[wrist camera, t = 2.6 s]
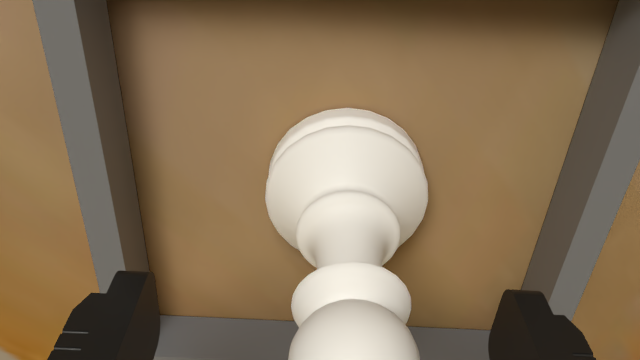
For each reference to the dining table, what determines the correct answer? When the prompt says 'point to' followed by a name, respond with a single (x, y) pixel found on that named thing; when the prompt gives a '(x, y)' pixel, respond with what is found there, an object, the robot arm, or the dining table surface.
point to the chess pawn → (348, 231)
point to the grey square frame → (276, 336)
